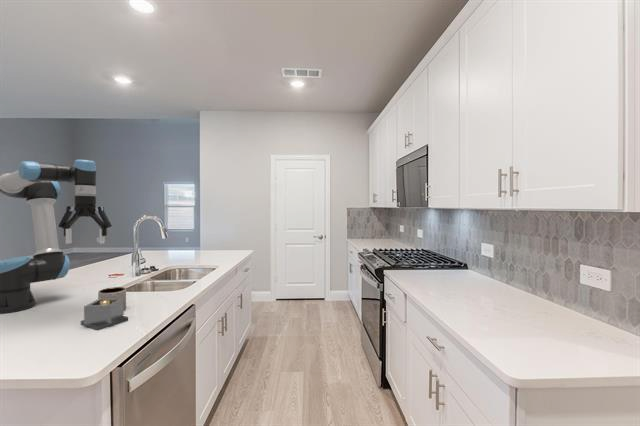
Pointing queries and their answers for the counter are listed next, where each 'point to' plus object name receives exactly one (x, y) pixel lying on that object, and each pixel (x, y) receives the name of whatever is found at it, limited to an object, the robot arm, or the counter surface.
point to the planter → (113, 294)
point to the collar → (103, 311)
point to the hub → (104, 325)
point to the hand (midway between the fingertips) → (85, 243)
